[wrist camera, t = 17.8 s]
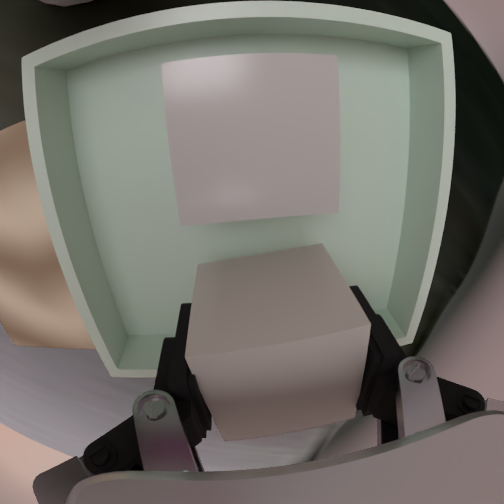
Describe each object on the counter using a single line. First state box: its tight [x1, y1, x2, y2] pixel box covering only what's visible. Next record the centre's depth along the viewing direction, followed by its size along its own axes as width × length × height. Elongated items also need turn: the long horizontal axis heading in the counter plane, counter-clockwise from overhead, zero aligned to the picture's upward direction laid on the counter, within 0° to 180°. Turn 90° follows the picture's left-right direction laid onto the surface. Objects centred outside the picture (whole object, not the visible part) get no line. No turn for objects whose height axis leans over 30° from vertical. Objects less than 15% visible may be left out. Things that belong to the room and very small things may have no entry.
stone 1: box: [161, 53, 340, 227], centre depth 10 cm, size 5×5×5 cm
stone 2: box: [185, 243, 371, 441], centre depth 11 cm, size 5×5×5 cm
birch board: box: [0, 120, 96, 349], centre depth 14 cm, size 15×9×1 cm, turn 4°
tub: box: [22, 1, 455, 378], centre depth 13 cm, size 17×18×4 cm
